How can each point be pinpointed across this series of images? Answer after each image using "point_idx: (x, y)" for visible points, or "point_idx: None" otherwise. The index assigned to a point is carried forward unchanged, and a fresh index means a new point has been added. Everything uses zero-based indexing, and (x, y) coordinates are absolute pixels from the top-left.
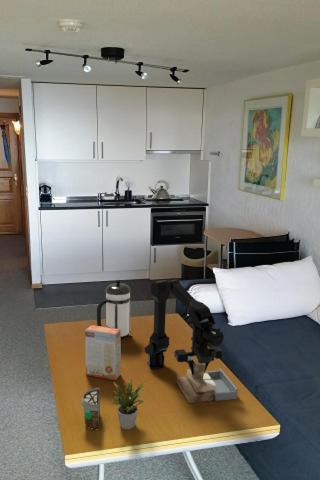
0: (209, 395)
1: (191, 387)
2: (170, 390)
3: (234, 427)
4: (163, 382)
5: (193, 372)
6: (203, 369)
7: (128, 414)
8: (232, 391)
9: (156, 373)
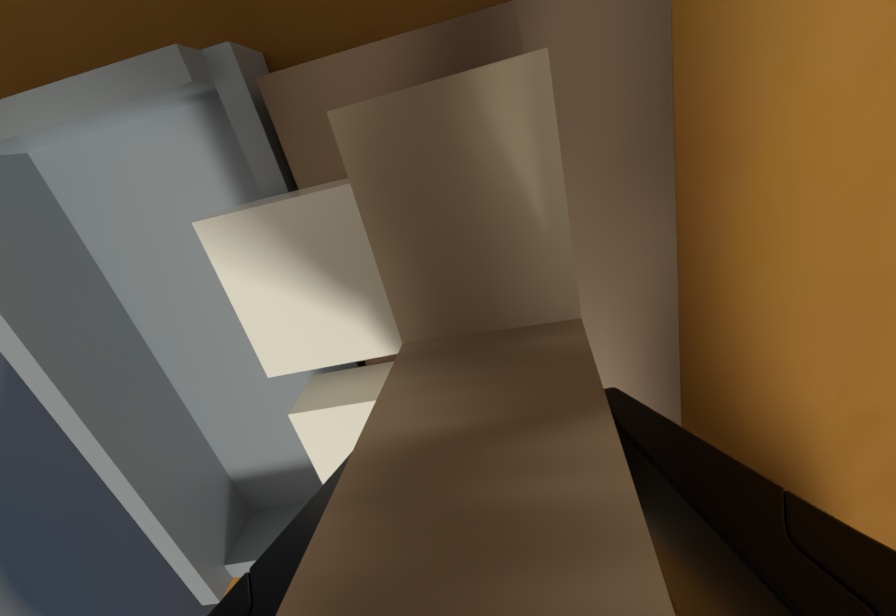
0: (326, 59)
1: None
2: (768, 294)
3: None
4: (785, 430)
5: (618, 417)
6: (368, 484)
7: None
8: None
9: None
